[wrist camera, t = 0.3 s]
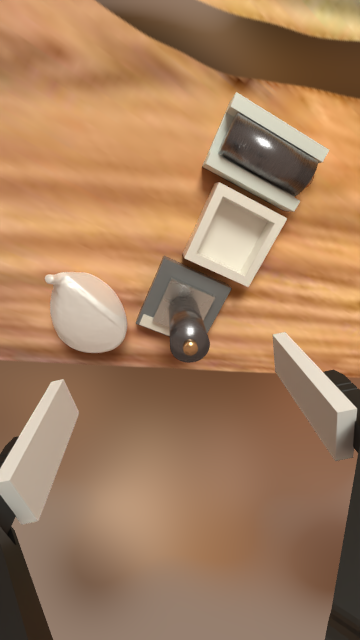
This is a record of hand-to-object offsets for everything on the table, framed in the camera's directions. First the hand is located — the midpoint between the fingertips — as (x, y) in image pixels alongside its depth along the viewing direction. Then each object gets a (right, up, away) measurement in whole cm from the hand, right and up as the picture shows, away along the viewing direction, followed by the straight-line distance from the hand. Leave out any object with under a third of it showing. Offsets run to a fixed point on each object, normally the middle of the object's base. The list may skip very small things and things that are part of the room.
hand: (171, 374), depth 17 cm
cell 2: (+11, +24, +18) cm, 32 cm away
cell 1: (+1, +5, +23) cm, 24 cm away
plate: (+1, +5, +24) cm, 25 cm away
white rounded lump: (-14, +5, +26) cm, 30 cm away
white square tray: (+8, +16, +23) cm, 29 cm away
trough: (+11, +24, +19) cm, 33 cm away
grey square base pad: (+1, +6, +26) cm, 27 cm away
